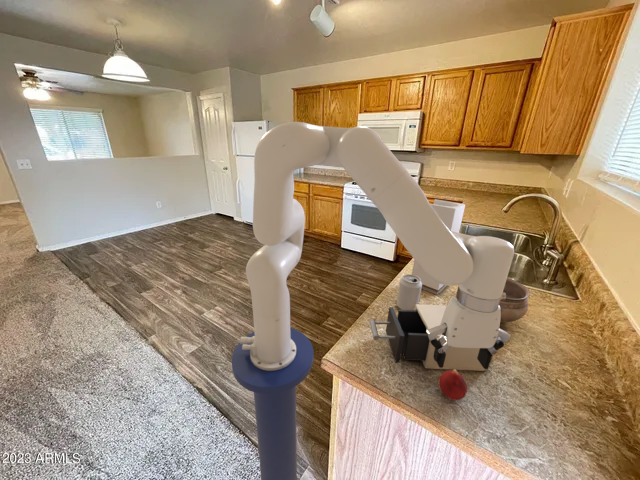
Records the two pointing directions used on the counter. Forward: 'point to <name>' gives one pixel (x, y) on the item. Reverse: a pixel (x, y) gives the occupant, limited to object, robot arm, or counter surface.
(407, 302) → the can
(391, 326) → the dark pull-out drawer
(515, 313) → the cooking pot
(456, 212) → the tall white column
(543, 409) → the counter surface
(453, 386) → the onion
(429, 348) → the cream rectangular box
